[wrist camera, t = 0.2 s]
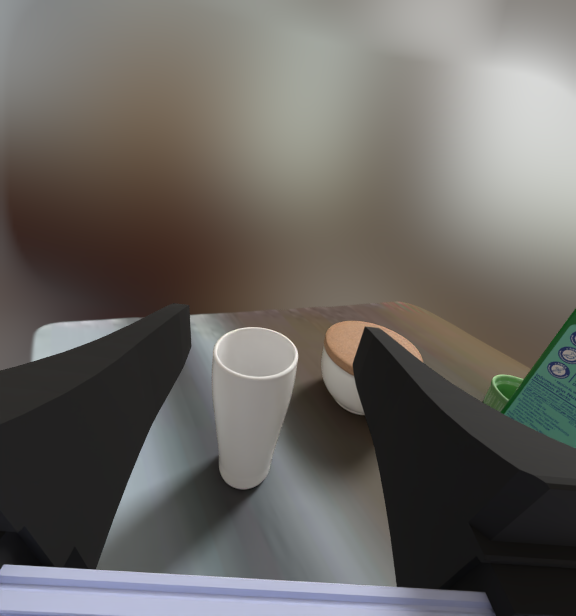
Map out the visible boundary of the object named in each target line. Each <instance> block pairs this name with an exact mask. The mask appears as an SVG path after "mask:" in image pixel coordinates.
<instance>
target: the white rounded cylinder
mask: <svg viewBox="0 0 576 616" xmlns="http://www.w3.org/2000/svg"><path fill="white" fill-rule="evenodd" d="M297 362H298V352H297V349H296V347H295V345H294V344H293V343H292V341H290V340H289V339H288V338H287V337H285V336H284V335H282V334H280V333H278V332H276V331H273V330H269V329H265V328H256V327H249V328H241V329H237V330H233V331H231V332H229V333H227V334H225V335H223V336H222V337H221V338H220V339H219V340H218V341H217V342H216V344H215V346H214V349H213V362H212V398H213V408H214V416H215V425H216V433H217V442H218V452H219V470H220V474H221V476H222V478H223V479H224V481H225V482H226V483H227V484H228V485H230V486H232V487H234V488H237V489H250V488H253V487H255V486H257V485H259V484H260V483H261V482H262V481H263V480H264V479H265V478H266V476H267V475H268V473H269V470H270V467H271V462H272V457H273V454H274V450H275V447H276V444H277V441H278V438H279V435H280V431H281V428H282V425H283V422H284V419H285V416H286V413H287V410H288V407H289V403H290V400H291V396H292V392H293V387H294V382H295V377H296V370H297Z"/></svg>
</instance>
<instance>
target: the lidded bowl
mask: <svg viewBox="0 0 576 616" xmlns="http://www.w3.org/2000/svg"><path fill="white" fill-rule="evenodd" d="M365 326H366V327H375V328H380V329H381V330H383V331H384V332H386V333H387V334H388V335H389V336H391V337H392V338H393V339H394V340H396V341H397V342H398V343H399V344H401V345H402V346H403V347H404V348H405V349H407V350H408V351H409V352H410V353H412V354H413V355H414V356H415V357H417V358H418V359H419V360H420V361H422V362H423V360H422V357H421V355H420V353H419V351H418V350H417V349H416V347H415V346H414V345H413V344H411V343H410V342H409V341H408V340H407V339H405V338H404V337H402V336H401V335H399V334H397V333H396V332H394V331H392V330H389V329H387V328H385V327H382V326H379V325H376V324H372V323H368V322H361V321H344V322H340V323H337V324H335V325H333V326H331V327H330V328H329V329H328V330H327V332H326V335H325V339H324V348H323V352H322V361H321V368H322V376H323V380H324V383H325V385H326V387H327V389H328V391H329V393H330V394H331V395H332V396H333V398H334V399H335V401H336V402H337V403H338V404H339V405H340V406H341V407H342V408H344V409H345V410H347V411H349V412H351V413H354V414H358V415H365V414H364V411H363V408H362V404H361V401H360V398H359V395H358V391H357V388H356V384H355V378H354V372H353V365H352V364H353V361H354V358H355V355H356V352H357V349H358V346H359V343H360V339H361V336H362V333H363V330H364V327H365Z"/></svg>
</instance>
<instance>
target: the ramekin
mask: <svg viewBox="0 0 576 616" xmlns="http://www.w3.org/2000/svg"><path fill="white" fill-rule="evenodd" d="M522 381H523V379H521V378H518V377H514V376H510V375H497V376H495V377H494V378H493V379H492V381H491V386H490V388H489V390H488V392H487V394H486V396H485V398H484V404H486V405H488V406H490V407H492V408H493V409H495V410H497V411H499V412H500V411H501V410H502V409H503V407H504V406H505V404H506V403H507V402H508V400H509V399H510V398H511V396H512V395H513V393H514V392H515V391H516V389H517V388H518V387H519V385H520V384H521V383H522Z"/></svg>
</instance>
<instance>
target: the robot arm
mask: <svg viewBox="0 0 576 616" xmlns="http://www.w3.org/2000/svg"><path fill="white" fill-rule="evenodd" d="M190 349H191V331H190V313H189V305H183V304H171V305H169V306H166V307H164V308H163V309H160V310H159V311H156V312H154V313H152V314H150V315H149V316H147V317H145V318H143V319H141V320H139V321H137V322H135V323H133V324H131V325H129V326H126V327H124V328H122V329H120V330H118V331H115V332H113V333H111V334H109V335H107V336H104V337H102V338H100V339H97V340H95V341H92V342H90V343H87V344H85V345H82V346H79V347H76V348H74V349H71V350H68V351H65V352H62V353H59V354H56V355H53V356H50V357H46V358H43V359H40V360H37V361H33V362H30V363H27V364H23V365H20V366H17V367H12V368H9V369H5V370H1V371H0V616H576V448H573V447H571V446H569V445H566V444H564V443H562V442H559V441H557V440H555V439H553V438H551V437H548V436H546V435H544V434H542V433H540V432H538V431H536V430H534V429H532V428H530V427H528V426H526V425H524V424H522V423H520V422H518V421H516V420H514V419H512V418H510V417H508V416H506V415H504V414H502V413H501V412H499V411H497V410H495V409H493V408H492V407H490V406H488V405H486V404H484V403H483V402H481V401H479V400H478V399H476V398H474V397H472V396H471V395H469V394H468V393H466V392H465V391H463V390H461V389H460V388H458V387H457V386H455V385H454V384H452V383H451V382H449V381H448V380H446V379H445V378H443V377H442V376H440V375H439V374H438V373H436V372H435V371H434V370H432V369H431V368H430V367H428V366H427V365H426V364H424V363H423V362H422V361H420V360H419V359H418V358H417V357H415V356H414V355H413V354H412V353H410V352H409V351H408V350H407V349H405V348H404V347H403V346H402V345H401V344H399V343H398V342H397V341H396V340H394V339H393V338H392V337H391V336H389V335H388V334H387V333H386V332H384V331H383V330H381V329H380V328H375V327H366V326H365V327H364V330H363V333H362V336H361V339H360V343H359V346H358V349H357V352H356V355H355V358H354V361H353V364H352V365H353V372H354V378H355V384H356V388H357V391H358V395H359V398H360V401H361V404H362V408H363V411H364V414H365V417H366V420H367V423H368V427H369V430H370V433H371V436H372V440H373V444H374V447H375V452H376V457H377V462H378V466H379V471H380V477H381V482H382V488H383V493H384V499H385V504H386V511H387V517H388V524H389V530H390V536H391V544H392V552H393V559H394V567H395V575H396V583H397V587H387V586H369V585H352V584H335V583H317V582H300V581H283V580H265V579H248V578H231V577H213V576H196V575H179V574H161V573H144V572H127V571H109V570H96V567H97V564H98V561H99V558H100V556H101V553H102V550H103V547H104V544H105V542H106V539H107V536H108V533H109V530H110V527H111V525H112V522H113V519H114V516H115V514H116V511H117V509H118V506H119V503H120V501H121V498H122V496H123V493H124V490H125V488H126V485H127V482H128V480H129V478H130V475H131V473H132V470H133V468H134V465H135V463H136V460H137V458H138V455H139V453H140V451H141V448H142V446H143V444H144V441H145V439H146V437H147V434H148V432H149V430H150V428H151V426H152V424H153V422H154V420H155V418H156V416H157V414H158V412H159V410H160V408H161V407H162V405H163V403H164V401H165V400H166V398H167V396H168V394H169V392H170V391H171V389H172V387H173V385H174V383H175V382H176V380H177V378H178V376H179V374H180V373H181V371H182V369H183V367H184V364H185V362H186V359H187V357H188V354H189V351H190Z"/></svg>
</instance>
